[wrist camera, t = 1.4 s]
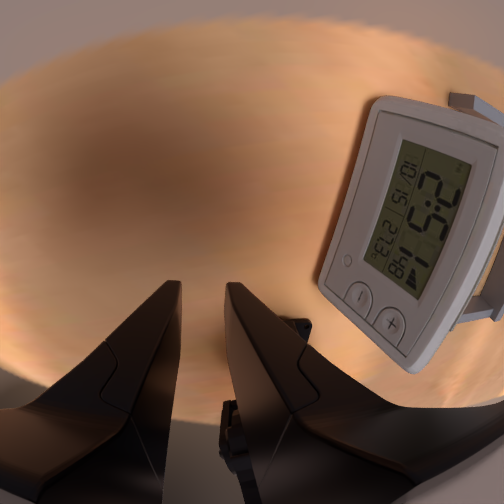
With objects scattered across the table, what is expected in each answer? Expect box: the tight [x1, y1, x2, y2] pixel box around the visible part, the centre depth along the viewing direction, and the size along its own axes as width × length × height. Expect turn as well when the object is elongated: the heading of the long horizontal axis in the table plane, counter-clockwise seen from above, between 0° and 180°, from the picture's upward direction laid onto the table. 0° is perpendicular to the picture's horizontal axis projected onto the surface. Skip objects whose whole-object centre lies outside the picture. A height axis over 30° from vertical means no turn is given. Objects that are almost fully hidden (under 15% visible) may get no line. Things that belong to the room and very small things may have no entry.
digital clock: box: [318, 96, 504, 374], centre depth 17 cm, size 16×9×11 cm, turn 156°
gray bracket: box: [448, 93, 504, 324], centre depth 22 cm, size 21×18×5 cm
